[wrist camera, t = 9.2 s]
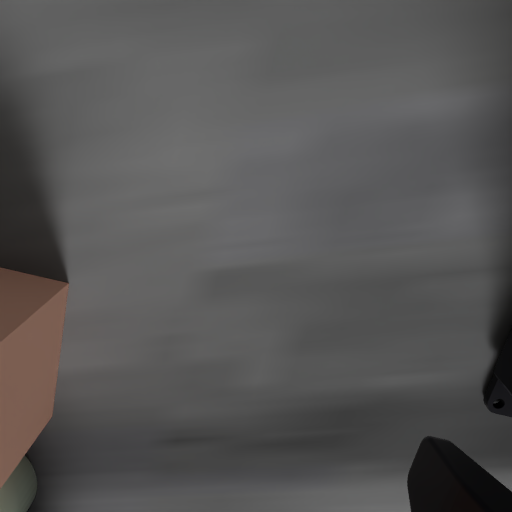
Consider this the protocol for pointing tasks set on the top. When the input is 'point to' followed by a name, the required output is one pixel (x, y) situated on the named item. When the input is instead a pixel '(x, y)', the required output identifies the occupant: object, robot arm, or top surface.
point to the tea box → (27, 360)
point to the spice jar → (19, 488)
